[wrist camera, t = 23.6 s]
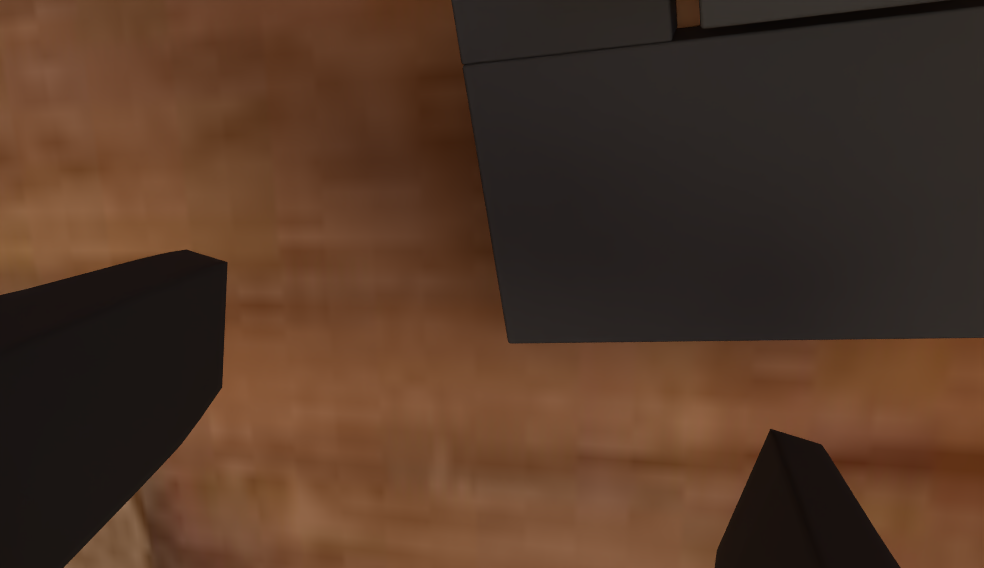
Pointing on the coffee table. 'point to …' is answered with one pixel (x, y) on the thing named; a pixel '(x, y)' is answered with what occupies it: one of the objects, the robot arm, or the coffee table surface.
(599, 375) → the coffee table surface
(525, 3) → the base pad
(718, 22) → the black cube
